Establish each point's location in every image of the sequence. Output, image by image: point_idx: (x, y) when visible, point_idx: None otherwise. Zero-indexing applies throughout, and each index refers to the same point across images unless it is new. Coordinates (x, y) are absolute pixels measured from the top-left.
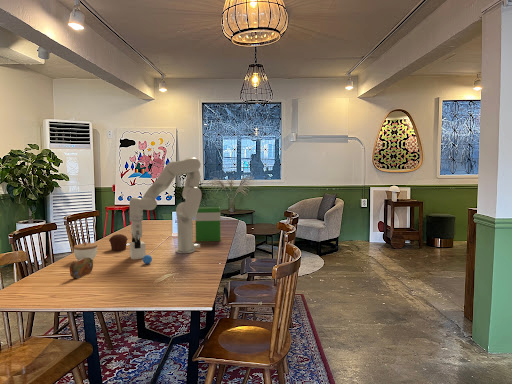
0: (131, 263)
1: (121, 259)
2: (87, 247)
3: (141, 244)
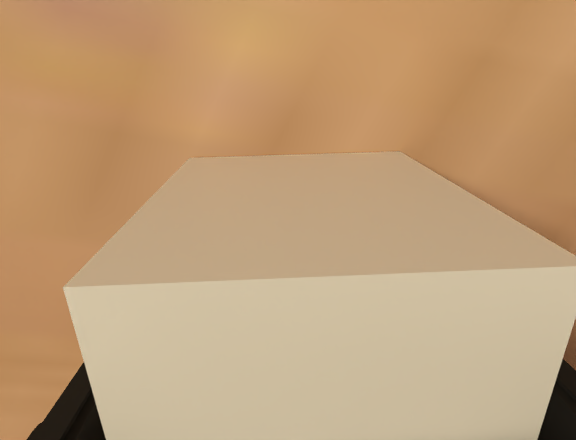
0: (568, 349)
1: None
2: None
3: (539, 360)
